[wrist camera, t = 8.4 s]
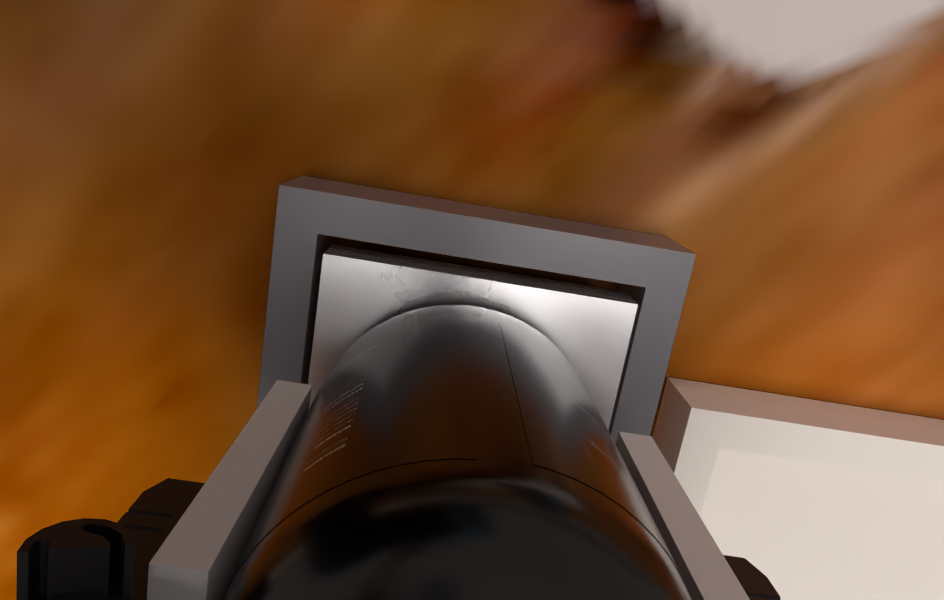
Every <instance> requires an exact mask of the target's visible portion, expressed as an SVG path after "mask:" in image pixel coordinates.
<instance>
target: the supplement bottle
mask: <svg viewBox="0 0 944 600" xmlns="http://www.w3.org/2000/svg"><path fill="white" fill-rule="evenodd" d="M222 600H692V599H691V597H690V594H689V591H688V589H687V587H686V585H685V582H684V580H683V578H682V576H681V574H680V572H679V570H678V568H677V566H676V564H675V562H674V560H673V558H672V556H671V554H670V552H669V550H668V548H667V546H666V544H665V542H664V540H663V538H662V536H661V534H660V532H659V530H658V528H657V526H656V524H655V522H654V520H653V518H652V516H651V514H650V512H649V510H648V508H647V506H646V504H645V502H644V500H643V498H642V496H641V494H640V492H639V490H638V488H637V486H636V484H635V482H634V480H633V478H632V476H631V474H630V472H629V470H628V468H627V466H626V464H625V462H624V460H623V458H622V456H621V454H620V452H619V450H618V448H617V447H616V445H615V443H614V441H613V439H612V437H611V435H610V433H609V431H608V429H607V427H606V425H605V423H604V421H603V419H602V417H601V415H600V413H599V411H598V409H597V407H596V405H595V403H594V401H593V399H592V397H591V395H590V393H589V391H588V390H587V388H586V386H585V384H584V382H583V381H582V379H581V377H580V376H579V374H578V372H577V371H576V369H575V367H574V366H573V365H572V364H571V362H570V361H569V360H568V358H567V357H566V356H565V355H564V353H563V352H562V351H561V350H560V349H559V348H558V347H557V346H556V345H555V344H554V343H553V342H552V341H551V340H549V339H548V338H547V337H546V336H545V335H544V334H542V333H541V332H539V331H538V330H536V329H535V328H533V327H532V326H530V325H528V324H527V323H525V322H523V321H521V320H519V319H517V318H515V317H512V316H510V315H508V314H505V313H502V312H499V311H495V310H492V309H487V308H483V307H477V306H469V305H438V306H431V307H424V308H420V309H416V310H412V311H408V312H405V313H403V314H400V315H397V316H394V317H392V318H390V319H388V320H386V321H384V322H382V323H380V324H378V325H377V326H375V327H373V328H372V329H370V330H369V331H367V332H366V333H365V334H363V335H362V336H361V337H359V338H358V339H357V340H356V341H355V342H354V343H353V344H351V345H350V346H349V347H348V348H347V349H346V350H345V352H344V353H343V354H342V355H341V356H340V357H339V358H338V360H337V361H336V362H335V364H334V365H333V367H332V368H331V369H330V371H329V372H328V374H327V376H326V377H325V379H324V381H323V383H322V384H321V386H320V388H319V390H318V392H317V394H316V396H315V398H314V400H313V402H312V404H311V406H310V408H309V411H308V413H307V415H306V417H305V419H304V421H303V424H302V426H301V428H300V430H299V432H298V434H297V437H296V439H295V441H294V443H293V445H292V447H291V450H290V452H289V454H288V456H287V458H286V460H285V463H284V465H283V467H282V469H281V471H280V473H279V476H278V478H277V480H276V482H275V484H274V486H273V489H272V491H271V493H270V495H269V497H268V499H267V502H266V504H265V506H264V508H263V510H262V512H261V515H260V517H259V519H258V521H257V523H256V525H255V528H254V530H253V532H252V534H251V536H250V538H249V541H248V543H247V545H246V547H245V549H244V551H243V554H242V556H241V558H240V560H239V562H238V565H237V567H236V569H235V571H234V573H233V575H232V578H231V580H230V582H229V584H228V587H227V589H226V591H225V594H224V596H223V598H222Z"/></svg>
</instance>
